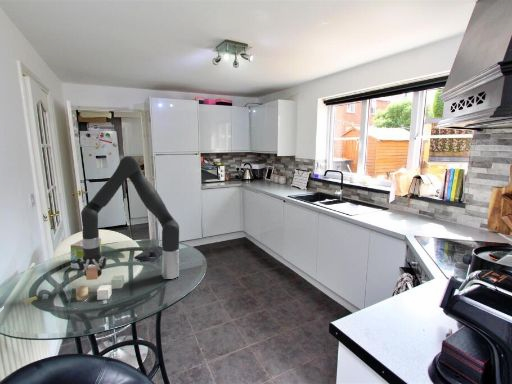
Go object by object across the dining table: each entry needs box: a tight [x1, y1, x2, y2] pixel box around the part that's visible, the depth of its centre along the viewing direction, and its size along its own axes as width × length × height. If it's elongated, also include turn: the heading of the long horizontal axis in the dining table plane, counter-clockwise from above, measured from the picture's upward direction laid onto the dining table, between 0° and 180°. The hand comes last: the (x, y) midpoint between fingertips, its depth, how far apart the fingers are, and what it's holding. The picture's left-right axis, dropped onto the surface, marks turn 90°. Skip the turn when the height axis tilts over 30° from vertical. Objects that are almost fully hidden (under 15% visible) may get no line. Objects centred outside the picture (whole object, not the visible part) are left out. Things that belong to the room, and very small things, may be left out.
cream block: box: [96, 284, 113, 301], centre depth 134 cm, size 5×5×5 cm
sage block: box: [110, 274, 125, 290], centre depth 144 cm, size 5×5×5 cm
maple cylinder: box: [75, 285, 89, 302], centre depth 132 cm, size 5×5×5 cm
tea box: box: [70, 237, 102, 270], centre depth 167 cm, size 15×10×15 cm
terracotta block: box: [85, 265, 100, 281], centre depth 141 cm, size 5×5×5 cm
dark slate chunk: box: [133, 245, 162, 262], centre depth 186 cm, size 15×22×5 cm
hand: (93, 275), depth 141 cm, fingers closed on terracotta block, 5 cm apart
